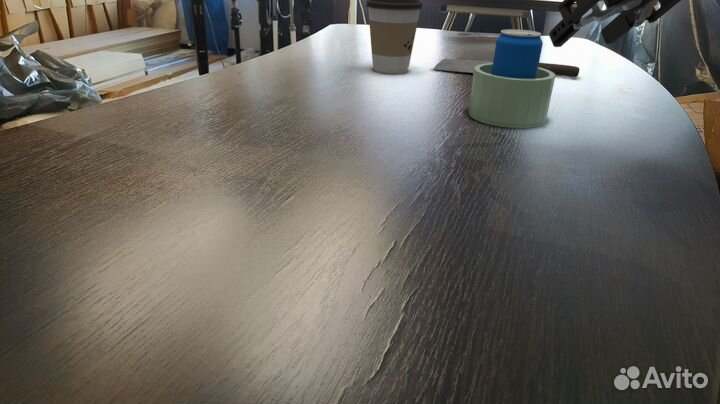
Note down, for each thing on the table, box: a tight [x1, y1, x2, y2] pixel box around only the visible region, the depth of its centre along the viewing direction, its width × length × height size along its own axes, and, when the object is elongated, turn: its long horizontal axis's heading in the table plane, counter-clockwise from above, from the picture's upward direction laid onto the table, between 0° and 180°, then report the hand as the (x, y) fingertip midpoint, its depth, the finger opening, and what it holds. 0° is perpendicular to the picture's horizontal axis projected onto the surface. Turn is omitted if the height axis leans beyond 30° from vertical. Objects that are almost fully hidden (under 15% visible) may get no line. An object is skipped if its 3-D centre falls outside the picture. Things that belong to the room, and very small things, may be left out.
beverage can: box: [491, 28, 544, 79], centre depth 74 cm, size 6×6×12 cm
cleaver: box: [433, 58, 580, 78], centre depth 105 cm, size 29×10×2 cm, turn 75°
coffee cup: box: [365, 0, 424, 75], centre depth 101 cm, size 11×11×15 cm
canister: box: [468, 63, 556, 129], centre depth 76 cm, size 12×12×7 cm
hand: (579, 39), depth 62 cm, fingers open, 8 cm apart
